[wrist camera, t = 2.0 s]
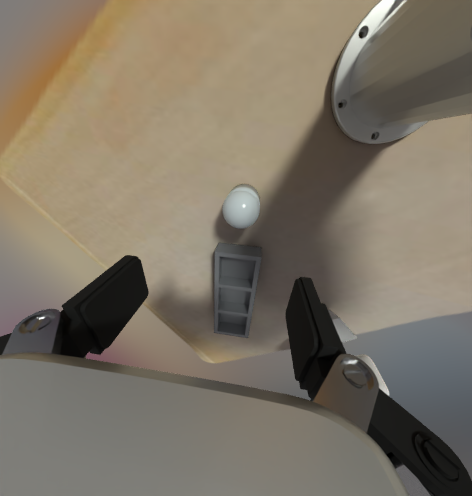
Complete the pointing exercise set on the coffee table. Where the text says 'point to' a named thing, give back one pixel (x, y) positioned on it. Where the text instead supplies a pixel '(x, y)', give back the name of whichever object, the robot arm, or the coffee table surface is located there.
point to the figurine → (347, 335)
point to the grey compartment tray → (235, 287)
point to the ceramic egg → (242, 206)
